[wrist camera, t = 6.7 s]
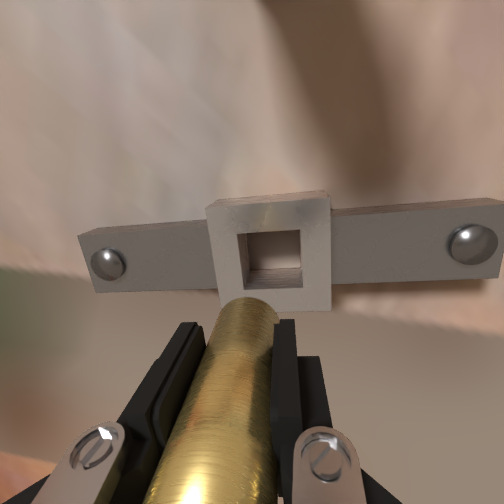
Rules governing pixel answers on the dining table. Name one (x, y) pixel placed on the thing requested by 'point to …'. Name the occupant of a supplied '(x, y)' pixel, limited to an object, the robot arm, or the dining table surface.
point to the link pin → (225, 418)
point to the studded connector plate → (311, 248)
